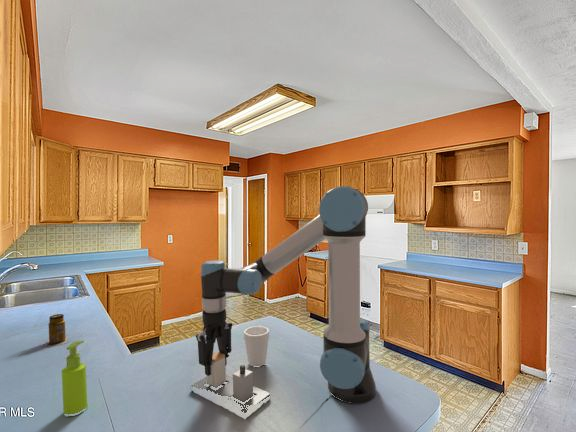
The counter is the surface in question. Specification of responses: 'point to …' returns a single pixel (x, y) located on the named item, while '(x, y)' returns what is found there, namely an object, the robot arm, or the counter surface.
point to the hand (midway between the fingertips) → (216, 379)
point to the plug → (218, 369)
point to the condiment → (56, 330)
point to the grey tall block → (243, 384)
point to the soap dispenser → (74, 382)
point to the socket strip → (228, 391)
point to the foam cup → (256, 344)
